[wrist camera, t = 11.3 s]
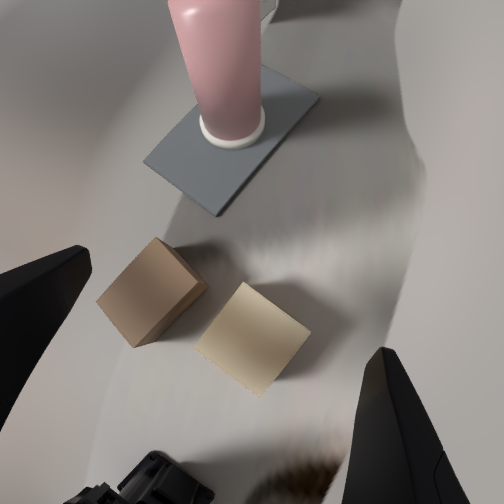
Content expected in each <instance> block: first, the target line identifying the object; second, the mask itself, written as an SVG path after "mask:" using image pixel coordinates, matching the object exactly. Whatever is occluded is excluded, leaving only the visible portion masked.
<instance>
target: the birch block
mask: <svg viewBox="0 0 504 504" xmlns="http://www.w3.org/2000/svg"><path fill="white" fill-rule="evenodd" d="M310 334H311V331H309V330H308V329H307V328H305V327H304V326H303V325H301V324H300V323H298V322H297V321H296V320H294V319H293V318H292V317H290V316H289V315H287V314H286V313H285V312H283V311H282V310H281V309H279V308H278V307H277V306H275V305H274V304H273V303H271V302H270V301H268V300H267V299H266V298H264V297H263V296H262V295H260V294H259V293H258V292H256V291H255V290H254V289H252V288H251V287H250V286H248V285H247V284H246V283H244V282H242V284H241V285H240V286H239V288H238V289H237V290H236V292H235V293H234V294H233V296H232V297H231V298H230V300H229V301H228V302H227V304H226V305H225V306H224V308H223V309H222V310H221V311H220V313H219V314H218V315H217V317H216V318H215V319H214V321H213V322H212V323H211V325H210V326H209V327H208V329H207V330H206V331H205V332H204V334H203V335H202V336H201V338H200V339H199V340H198V342H197V343H196V344H195V345H194V347H193V348H194V349H195V350H196V351H198V352H199V353H200V354H201V355H203V356H204V357H205V358H206V359H208V360H209V361H210V362H212V363H213V364H214V365H216V366H217V367H218V368H220V369H221V370H222V371H224V372H225V373H226V374H228V375H229V376H230V377H232V378H233V379H234V380H236V381H237V382H239V383H240V384H241V385H243V386H244V387H245V388H247V389H248V390H250V391H251V392H253V393H254V394H255V395H257V396H258V397H261V396H262V394H263V393H264V392H265V391H266V390H267V388H268V387H269V386H270V385H271V384H272V382H273V381H274V380H275V379H276V377H277V376H278V375H279V374H280V372H281V371H282V370H283V369H284V367H285V366H286V365H287V364H288V362H289V361H290V360H291V359H292V357H293V356H294V355H295V353H296V352H297V351H298V349H299V348H300V347H301V346H302V344H303V343H304V342H305V340H306V339H307V338H308V336H309V335H310Z"/></svg>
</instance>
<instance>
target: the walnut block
mask: <svg viewBox="0 0 504 504" xmlns="http://www.w3.org/2000/svg"><path fill="white" fill-rule="evenodd" d="M208 287H209V285H208V284H207V283H206V282H205V281H204V280H203V279H202V278H201V277H200V276H199V275H198V274H197V273H196V272H195V271H194V270H193V269H192V268H191V267H190V266H189V265H188V264H187V262H186V261H185V260H184V259H183V258H182V257H181V256H180V255H179V254H178V253H177V252H176V251H175V250H174V249H173V248H172V247H171V246H169V245H167V244H166V243H164V242H163V241H161V240H160V239H158V238H157V237H155V238H154V239H153V240H152V241H151V242H150V243H149V244H148V245H147V246H146V247H145V248H144V249H143V251H142V252H141V253H140V254H139V255H138V256H137V257H136V258H135V259H134V260H133V261H132V262H131V263H130V264H129V265H128V267H127V268H126V269H125V270H124V271H123V272H122V273H121V274H120V275H119V276H118V277H117V278H116V280H115V281H114V282H113V283H112V284H111V285H110V286H109V287H108V289H107V290H106V291H105V292H104V293H103V294H102V295H101V296H100V298H99V299H98V300H97V301H96V303H97V304H98V305H99V306H100V308H101V309H102V310H103V312H104V313H105V314H106V316H107V317H108V318H109V319H110V321H111V322H112V323H113V324H114V326H115V327H116V328H117V329H118V331H119V332H120V333H121V334H122V335H123V337H124V338H125V339H126V340H127V341H128V342H129V344H130V345H131V346H132V347H133V348H136V347H139V346H143V345H146V344H149V343H153V342H155V341H156V340H157V339H158V338H159V337H160V336H161V335H162V334H163V333H164V332H165V331H166V330H167V329H168V328H169V326H170V325H171V324H172V323H173V322H174V321H175V320H176V319H177V318H178V317H179V316H180V315H181V314H182V313H183V312H184V311H185V310H186V309H187V308H188V307H189V306H190V305H191V304H192V303H193V302H194V301H195V300H196V299H197V298H198V297H199V296H200V295H201V294H202V293H203V292H204V291H205V290H206V289H207V288H208Z"/></svg>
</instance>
